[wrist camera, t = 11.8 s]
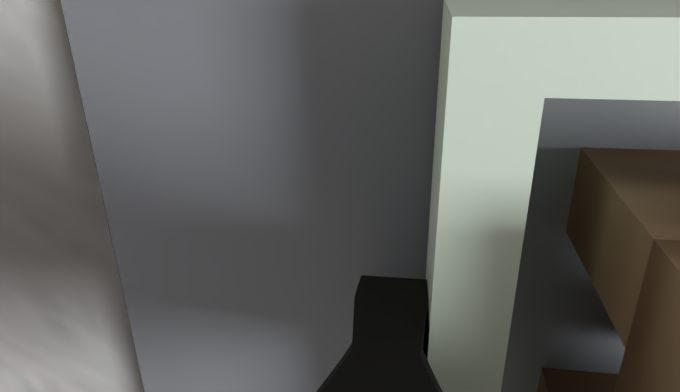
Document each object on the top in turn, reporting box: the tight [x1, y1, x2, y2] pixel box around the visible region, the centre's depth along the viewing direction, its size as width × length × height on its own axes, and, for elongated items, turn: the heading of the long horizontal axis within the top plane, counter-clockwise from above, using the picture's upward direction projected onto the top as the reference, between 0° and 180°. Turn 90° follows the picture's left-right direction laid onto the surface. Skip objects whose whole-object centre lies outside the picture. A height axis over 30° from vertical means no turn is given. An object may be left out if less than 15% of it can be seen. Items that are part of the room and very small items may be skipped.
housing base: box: [60, 0, 680, 392], centre depth 9 cm, size 16×12×4 cm
